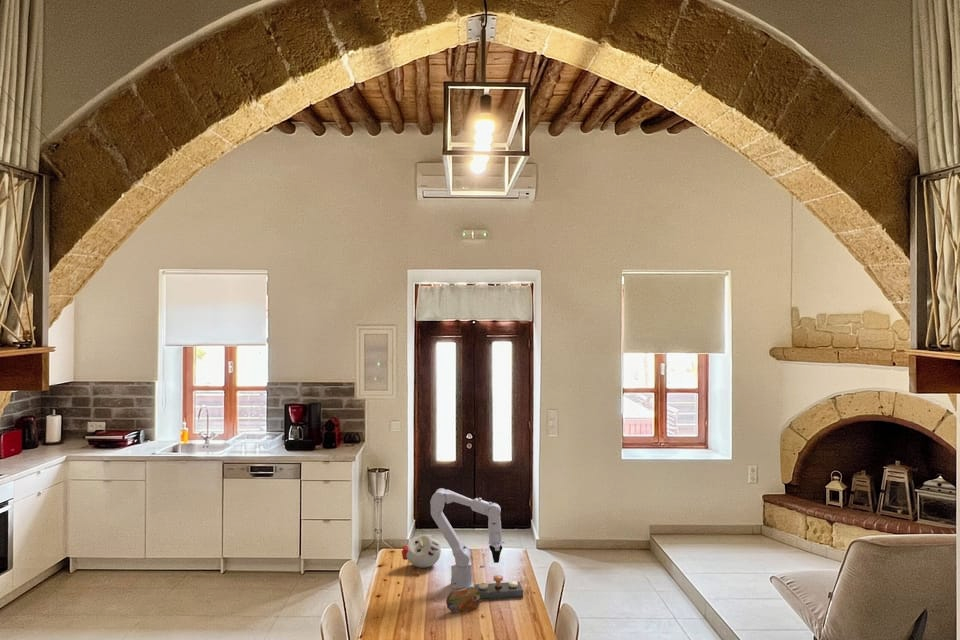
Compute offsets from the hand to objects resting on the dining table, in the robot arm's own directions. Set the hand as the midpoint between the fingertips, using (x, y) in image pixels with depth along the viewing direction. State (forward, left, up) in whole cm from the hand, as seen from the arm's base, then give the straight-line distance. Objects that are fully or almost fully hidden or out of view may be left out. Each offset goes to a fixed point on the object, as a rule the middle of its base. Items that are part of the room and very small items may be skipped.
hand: (496, 562), depth 292 cm
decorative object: (-33, +30, -11) cm, 46 cm away
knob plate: (0, -10, -10) cm, 14 cm away
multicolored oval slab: (-16, -24, -11) cm, 31 cm away
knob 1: (-7, -10, -10) cm, 16 cm away
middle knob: (0, -10, -7) cm, 12 cm away
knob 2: (+6, -10, -10) cm, 15 cm away
